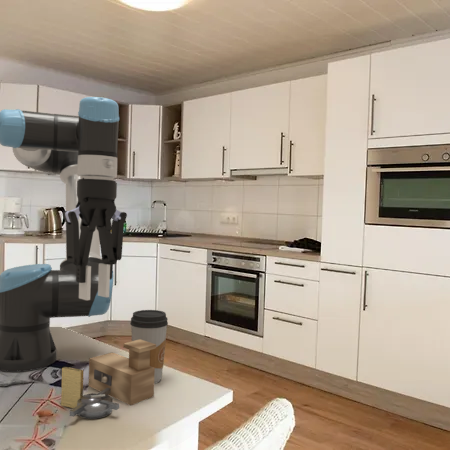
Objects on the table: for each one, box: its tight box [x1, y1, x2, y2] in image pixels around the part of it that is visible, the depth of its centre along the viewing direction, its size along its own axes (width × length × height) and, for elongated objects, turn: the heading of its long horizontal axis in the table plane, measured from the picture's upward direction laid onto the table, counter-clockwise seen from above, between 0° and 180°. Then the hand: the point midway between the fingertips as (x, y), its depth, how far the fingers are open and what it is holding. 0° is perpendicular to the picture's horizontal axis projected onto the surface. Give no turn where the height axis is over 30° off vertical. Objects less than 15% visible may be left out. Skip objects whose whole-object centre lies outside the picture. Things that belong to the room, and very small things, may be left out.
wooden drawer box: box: [88, 339, 156, 406], centre depth 99 cm, size 14×7×11 cm, turn 50°
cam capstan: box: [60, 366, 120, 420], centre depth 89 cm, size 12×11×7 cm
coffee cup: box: [130, 309, 169, 385], centre depth 106 cm, size 8×8×15 cm
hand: (94, 297), depth 94 cm, fingers open, 4 cm apart
